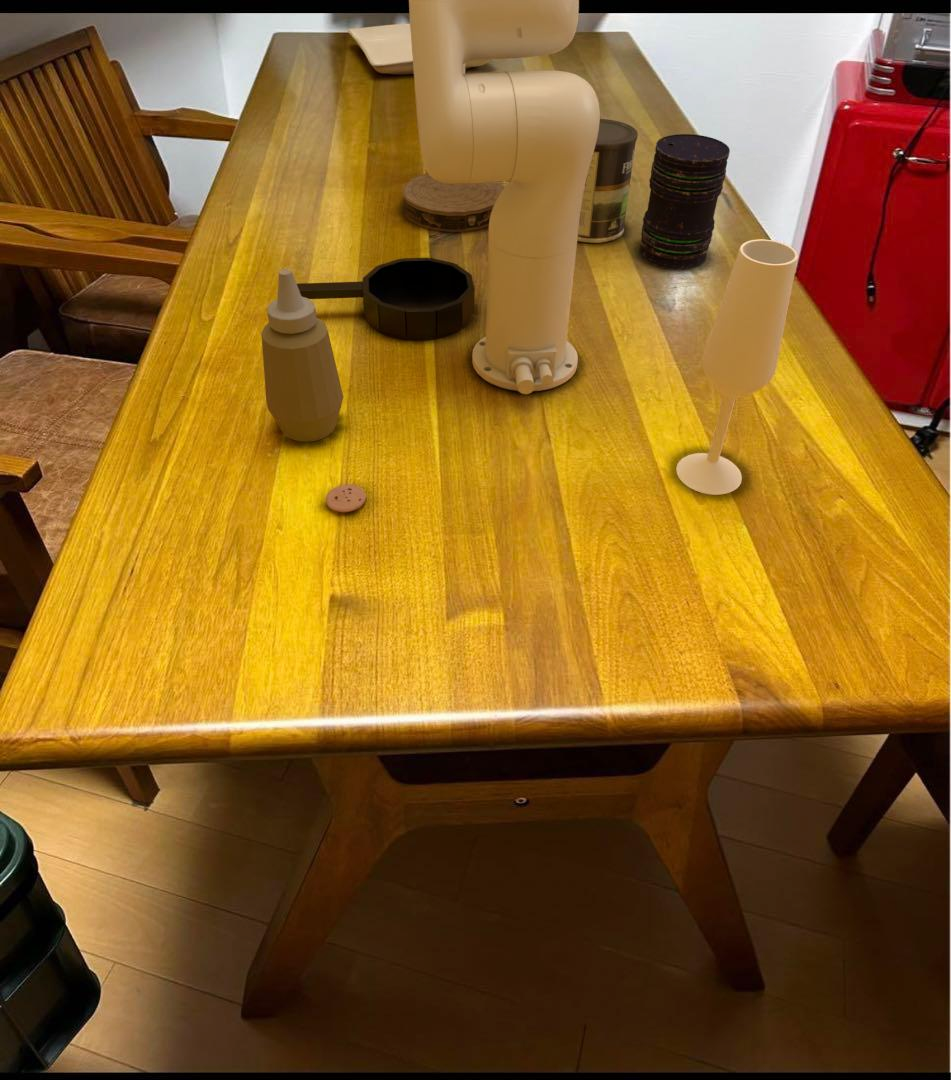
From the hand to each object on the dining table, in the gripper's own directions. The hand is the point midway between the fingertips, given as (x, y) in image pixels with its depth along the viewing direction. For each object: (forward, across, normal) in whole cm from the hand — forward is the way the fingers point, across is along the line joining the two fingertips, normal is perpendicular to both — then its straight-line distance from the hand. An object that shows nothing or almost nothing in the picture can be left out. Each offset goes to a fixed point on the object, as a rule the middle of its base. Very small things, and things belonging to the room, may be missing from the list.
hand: (448, 161), depth 137 cm
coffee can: (+3, +19, +20) cm, 28 cm away
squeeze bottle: (+3, +66, -20) cm, 69 cm away
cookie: (+3, +78, -16) cm, 80 cm away
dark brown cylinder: (+3, +28, +30) cm, 42 cm away
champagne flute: (+3, +77, +21) cm, 80 cm away
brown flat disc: (+3, +11, 0) cm, 11 cm away
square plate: (+4, -69, -1) cm, 69 cm away
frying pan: (+3, +42, -12) cm, 44 cm away
